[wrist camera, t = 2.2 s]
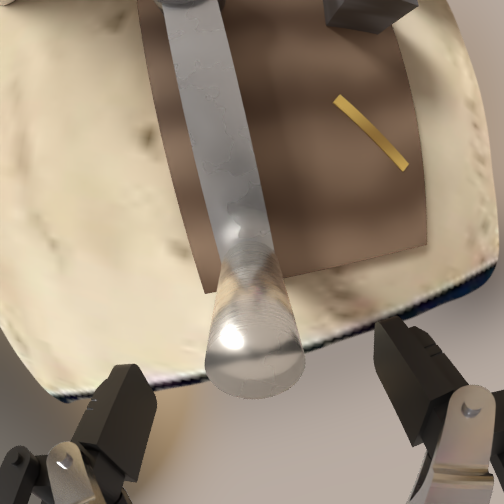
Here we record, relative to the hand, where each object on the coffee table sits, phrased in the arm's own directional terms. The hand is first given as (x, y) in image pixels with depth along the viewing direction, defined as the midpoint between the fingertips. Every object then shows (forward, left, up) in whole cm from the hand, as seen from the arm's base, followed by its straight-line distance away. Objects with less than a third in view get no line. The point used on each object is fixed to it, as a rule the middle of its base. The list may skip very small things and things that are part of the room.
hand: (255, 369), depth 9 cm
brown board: (-10, +5, -14) cm, 18 cm away
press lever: (-9, 0, -12) cm, 15 cm away
